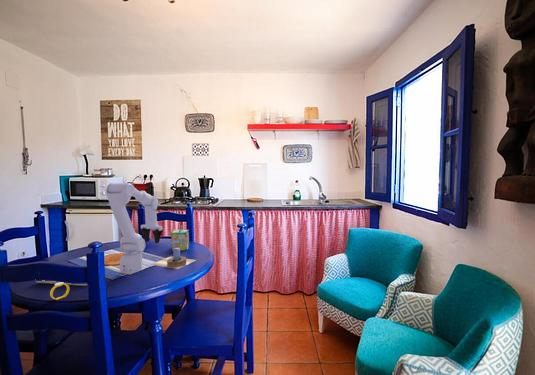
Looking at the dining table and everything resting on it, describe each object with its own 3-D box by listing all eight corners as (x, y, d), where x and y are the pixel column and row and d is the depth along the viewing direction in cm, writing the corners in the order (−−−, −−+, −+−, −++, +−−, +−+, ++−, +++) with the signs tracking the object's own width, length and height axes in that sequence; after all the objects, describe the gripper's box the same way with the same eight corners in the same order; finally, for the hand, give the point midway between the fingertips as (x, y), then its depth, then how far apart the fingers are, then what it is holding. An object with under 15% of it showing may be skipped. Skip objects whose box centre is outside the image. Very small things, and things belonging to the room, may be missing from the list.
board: (177, 270, 131) (177, 269, 131) (150, 265, 138) (150, 264, 138) (196, 261, 143) (196, 260, 143) (171, 257, 151) (171, 256, 151)
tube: (96, 273, 119) (48, 270, 123) (86, 274, 114) (37, 271, 118) (93, 286, 117) (45, 282, 122) (83, 287, 112) (33, 284, 117)
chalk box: (174, 247, 170) (173, 224, 169) (189, 246, 171) (188, 223, 170) (171, 252, 161) (170, 227, 160) (186, 251, 162) (185, 226, 161)
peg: (177, 265, 136) (176, 249, 135) (172, 264, 137) (171, 249, 137) (181, 263, 139) (181, 248, 138) (176, 262, 140) (176, 247, 139)
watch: (53, 302, 101) (51, 287, 100) (50, 301, 102) (47, 286, 102) (71, 295, 106) (69, 280, 105) (67, 293, 108) (65, 279, 107)
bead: (177, 268, 132) (177, 263, 132) (163, 265, 136) (163, 260, 136) (189, 262, 140) (189, 257, 140) (176, 260, 144) (176, 255, 144)
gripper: (166, 217, 147) (167, 241, 148) (147, 215, 154) (148, 239, 155) (156, 219, 141) (157, 245, 142) (136, 218, 147) (138, 242, 148)
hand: (152, 242), depth 148 cm, fingers open, 7 cm apart
